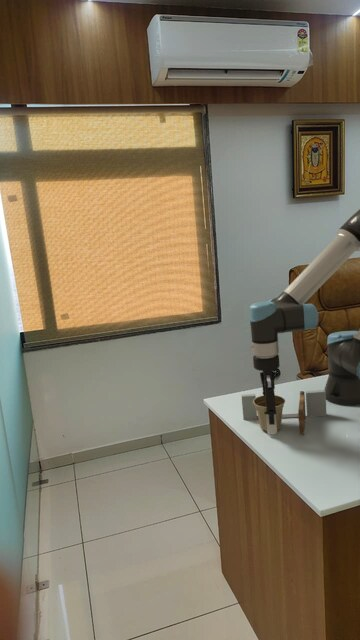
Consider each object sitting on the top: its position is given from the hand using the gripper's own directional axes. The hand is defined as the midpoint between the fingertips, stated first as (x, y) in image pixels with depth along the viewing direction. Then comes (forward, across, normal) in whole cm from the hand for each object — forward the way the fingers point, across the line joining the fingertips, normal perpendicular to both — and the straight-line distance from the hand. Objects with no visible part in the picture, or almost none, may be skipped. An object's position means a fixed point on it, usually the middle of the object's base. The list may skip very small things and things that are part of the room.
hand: (270, 426), depth 126 cm
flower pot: (+1, 0, 0) cm, 1 cm away
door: (+1, -1, +10) cm, 10 cm away
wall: (+1, -8, +5) cm, 9 cm away
